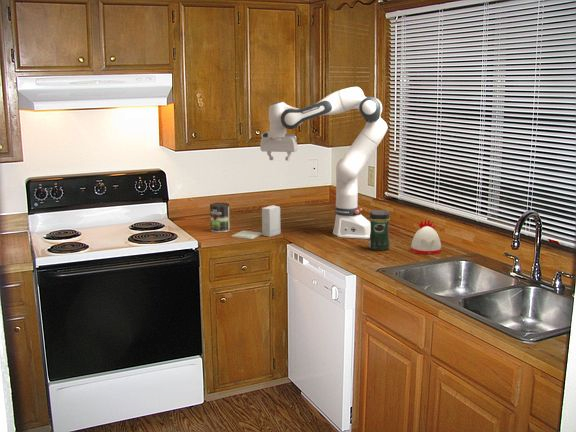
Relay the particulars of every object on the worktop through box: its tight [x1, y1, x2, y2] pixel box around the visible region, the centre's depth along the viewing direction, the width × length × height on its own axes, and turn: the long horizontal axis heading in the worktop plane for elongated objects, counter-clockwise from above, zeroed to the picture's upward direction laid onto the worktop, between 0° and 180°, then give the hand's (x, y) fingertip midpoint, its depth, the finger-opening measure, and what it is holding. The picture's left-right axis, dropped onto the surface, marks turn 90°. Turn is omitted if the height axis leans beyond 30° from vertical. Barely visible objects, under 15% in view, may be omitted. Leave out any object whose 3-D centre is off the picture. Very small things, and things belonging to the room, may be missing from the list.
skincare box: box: [261, 204, 282, 238], centre depth 336 cm, size 8×6×15 cm
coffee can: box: [209, 202, 231, 233], centre depth 348 cm, size 10×10×14 cm
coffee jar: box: [368, 209, 391, 251], centre depth 308 cm, size 10×8×19 cm
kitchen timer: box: [410, 218, 442, 255], centre depth 304 cm, size 14×14×15 cm
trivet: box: [230, 230, 263, 240], centre depth 337 cm, size 12×12×1 cm
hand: (279, 160), depth 341 cm, fingers open, 8 cm apart
